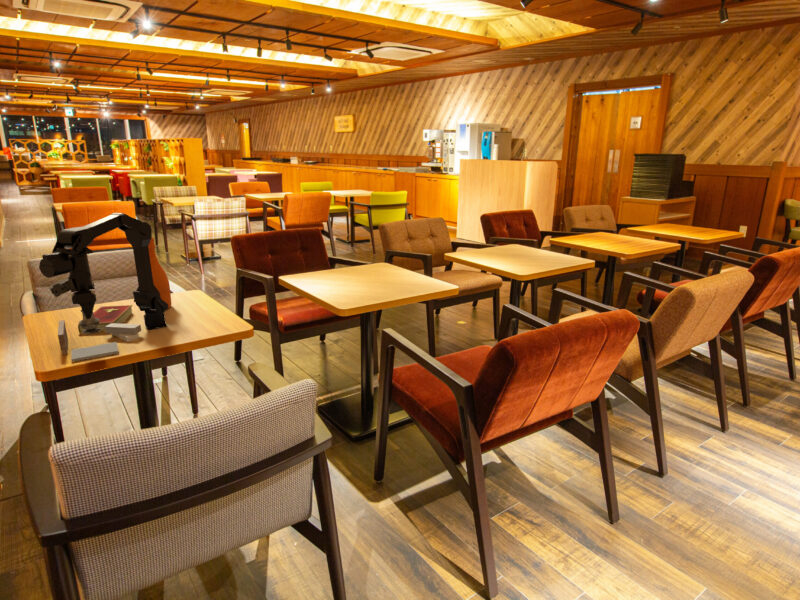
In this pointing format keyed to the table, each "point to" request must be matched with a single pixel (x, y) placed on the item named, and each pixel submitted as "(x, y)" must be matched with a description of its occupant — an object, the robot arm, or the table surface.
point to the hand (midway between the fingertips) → (88, 316)
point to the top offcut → (123, 328)
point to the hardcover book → (110, 315)
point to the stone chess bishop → (89, 324)
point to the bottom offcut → (127, 336)
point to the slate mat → (94, 351)
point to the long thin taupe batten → (63, 337)
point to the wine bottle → (159, 275)
